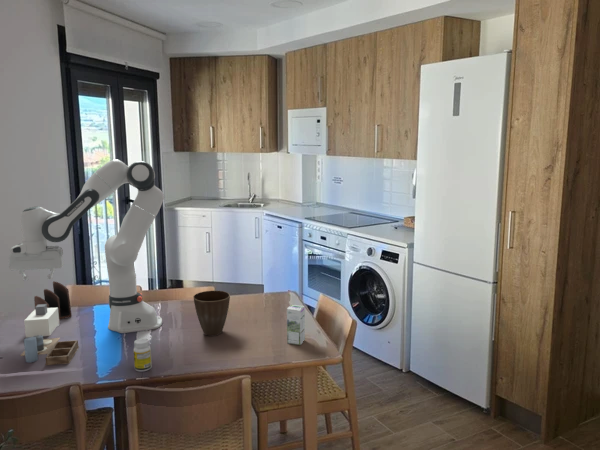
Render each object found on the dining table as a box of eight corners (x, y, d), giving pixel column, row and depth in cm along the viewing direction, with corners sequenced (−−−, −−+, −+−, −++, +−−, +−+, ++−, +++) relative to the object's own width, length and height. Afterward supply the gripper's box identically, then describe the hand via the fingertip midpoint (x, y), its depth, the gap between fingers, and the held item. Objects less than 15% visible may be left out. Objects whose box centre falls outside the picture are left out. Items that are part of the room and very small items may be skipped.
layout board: (60, 340, 210) (59, 325, 209) (49, 356, 194) (47, 340, 193) (33, 341, 208) (32, 327, 207) (20, 358, 192) (18, 342, 191)
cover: (59, 325, 227) (57, 299, 225) (49, 337, 212) (47, 310, 210) (37, 326, 225) (34, 300, 223) (26, 339, 211) (23, 312, 209)
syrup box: (305, 340, 208) (305, 305, 206) (300, 345, 203) (300, 309, 200) (291, 338, 210) (291, 303, 208) (286, 344, 205) (286, 308, 202)
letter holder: (56, 307, 252) (54, 279, 250) (72, 317, 238) (69, 287, 236) (34, 311, 245) (32, 282, 243) (48, 322, 231) (46, 291, 229)
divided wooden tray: (79, 349, 201) (78, 340, 200) (69, 365, 186) (68, 356, 185) (56, 350, 199) (56, 341, 198) (45, 367, 184) (44, 357, 184)
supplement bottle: (136, 365, 186) (135, 337, 184) (153, 364, 186) (151, 337, 185) (132, 372, 180) (131, 344, 179) (149, 371, 181) (148, 343, 179)
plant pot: (238, 332, 217) (237, 295, 215) (209, 342, 207) (208, 303, 204) (216, 323, 228) (215, 288, 225) (187, 333, 217) (185, 296, 214)
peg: (39, 360, 191) (37, 336, 189) (36, 364, 187) (34, 340, 186) (28, 360, 190) (25, 337, 189) (24, 365, 186) (22, 341, 185)
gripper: (64, 244, 217) (67, 276, 219) (11, 246, 213) (14, 279, 216) (60, 247, 211) (63, 280, 213) (5, 249, 207) (8, 283, 210)
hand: (38, 279), depth 214 cm, fingers open, 8 cm apart
